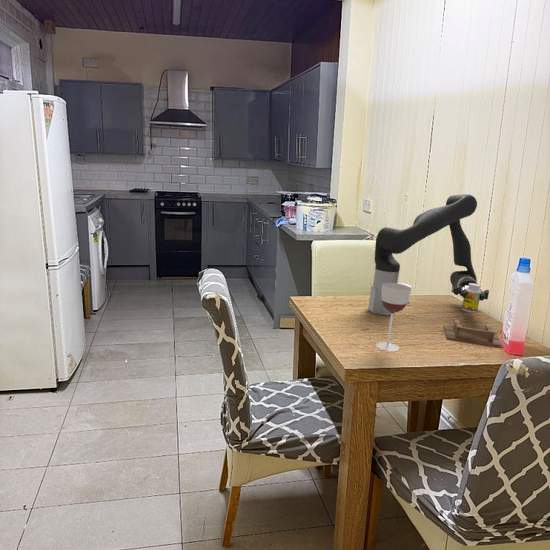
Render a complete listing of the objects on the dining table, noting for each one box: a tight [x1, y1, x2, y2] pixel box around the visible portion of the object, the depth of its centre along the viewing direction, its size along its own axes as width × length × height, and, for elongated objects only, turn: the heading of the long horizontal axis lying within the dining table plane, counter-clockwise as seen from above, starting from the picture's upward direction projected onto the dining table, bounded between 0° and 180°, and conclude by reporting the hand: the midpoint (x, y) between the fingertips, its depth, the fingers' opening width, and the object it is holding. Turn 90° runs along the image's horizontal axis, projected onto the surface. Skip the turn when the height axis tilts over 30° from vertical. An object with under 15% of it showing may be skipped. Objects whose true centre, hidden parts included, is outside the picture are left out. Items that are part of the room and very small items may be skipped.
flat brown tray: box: [443, 319, 503, 348], centre depth 178 cm, size 14×18×4 cm
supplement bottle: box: [461, 283, 481, 313], centre depth 189 cm, size 6×6×10 cm
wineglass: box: [375, 282, 410, 352], centre depth 160 cm, size 8×9×20 cm
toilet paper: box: [398, 282, 413, 304], centre depth 220 cm, size 8×11×7 cm
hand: (473, 296), depth 187 cm, fingers closed on supplement bottle, 5 cm apart
